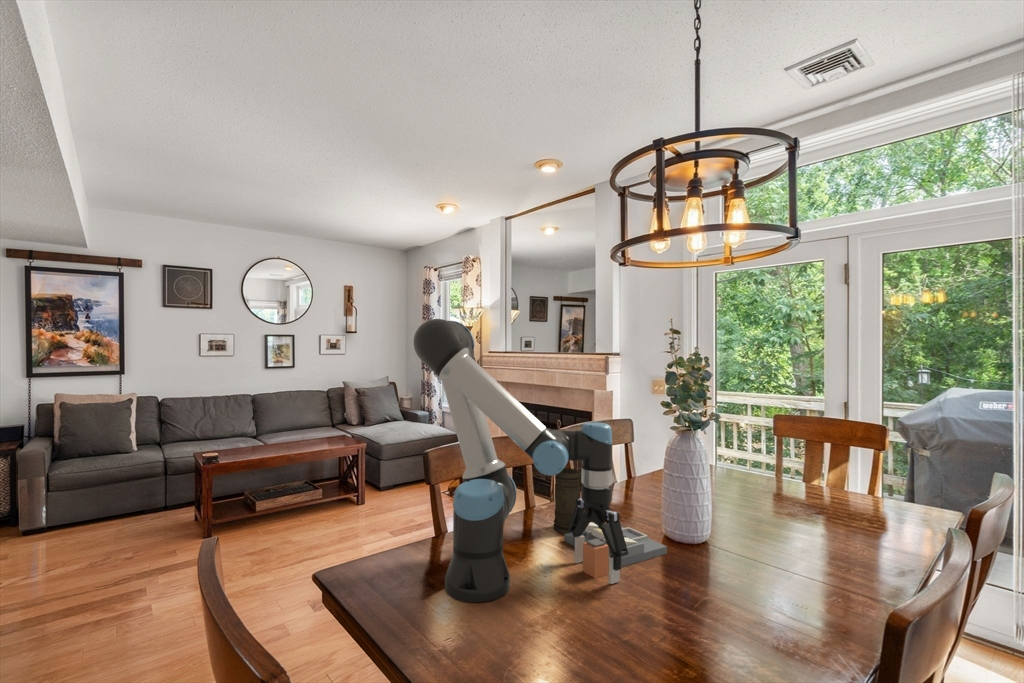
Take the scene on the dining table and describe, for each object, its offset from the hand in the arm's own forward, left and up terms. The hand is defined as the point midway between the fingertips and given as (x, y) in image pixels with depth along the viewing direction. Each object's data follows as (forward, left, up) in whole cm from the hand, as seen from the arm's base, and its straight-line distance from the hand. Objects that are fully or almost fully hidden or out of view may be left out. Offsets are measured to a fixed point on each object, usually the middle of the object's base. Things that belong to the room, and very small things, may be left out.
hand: (596, 571), depth 123 cm
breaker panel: (+15, +10, 0) cm, 18 cm away
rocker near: (+12, +3, +4) cm, 13 cm away
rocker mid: (+12, +10, +4) cm, 16 cm away
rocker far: (+12, +16, +4) cm, 21 cm away
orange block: (0, 0, 0) cm, 0 cm away
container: (+12, +27, 0) cm, 30 cm away
